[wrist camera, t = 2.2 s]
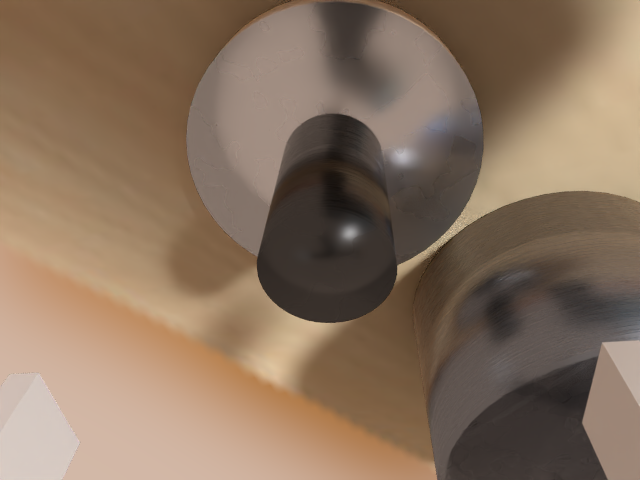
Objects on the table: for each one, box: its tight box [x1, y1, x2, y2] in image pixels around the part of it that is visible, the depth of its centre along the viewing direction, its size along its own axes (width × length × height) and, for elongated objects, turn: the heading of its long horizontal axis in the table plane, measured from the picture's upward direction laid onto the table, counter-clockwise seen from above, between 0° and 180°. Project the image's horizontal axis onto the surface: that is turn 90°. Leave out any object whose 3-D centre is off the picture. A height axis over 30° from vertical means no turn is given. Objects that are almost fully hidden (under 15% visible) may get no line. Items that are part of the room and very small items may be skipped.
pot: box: [413, 191, 640, 480], centre depth 25 cm, size 15×15×10 cm
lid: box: [186, 0, 483, 323], centre depth 20 cm, size 13×13×10 cm
